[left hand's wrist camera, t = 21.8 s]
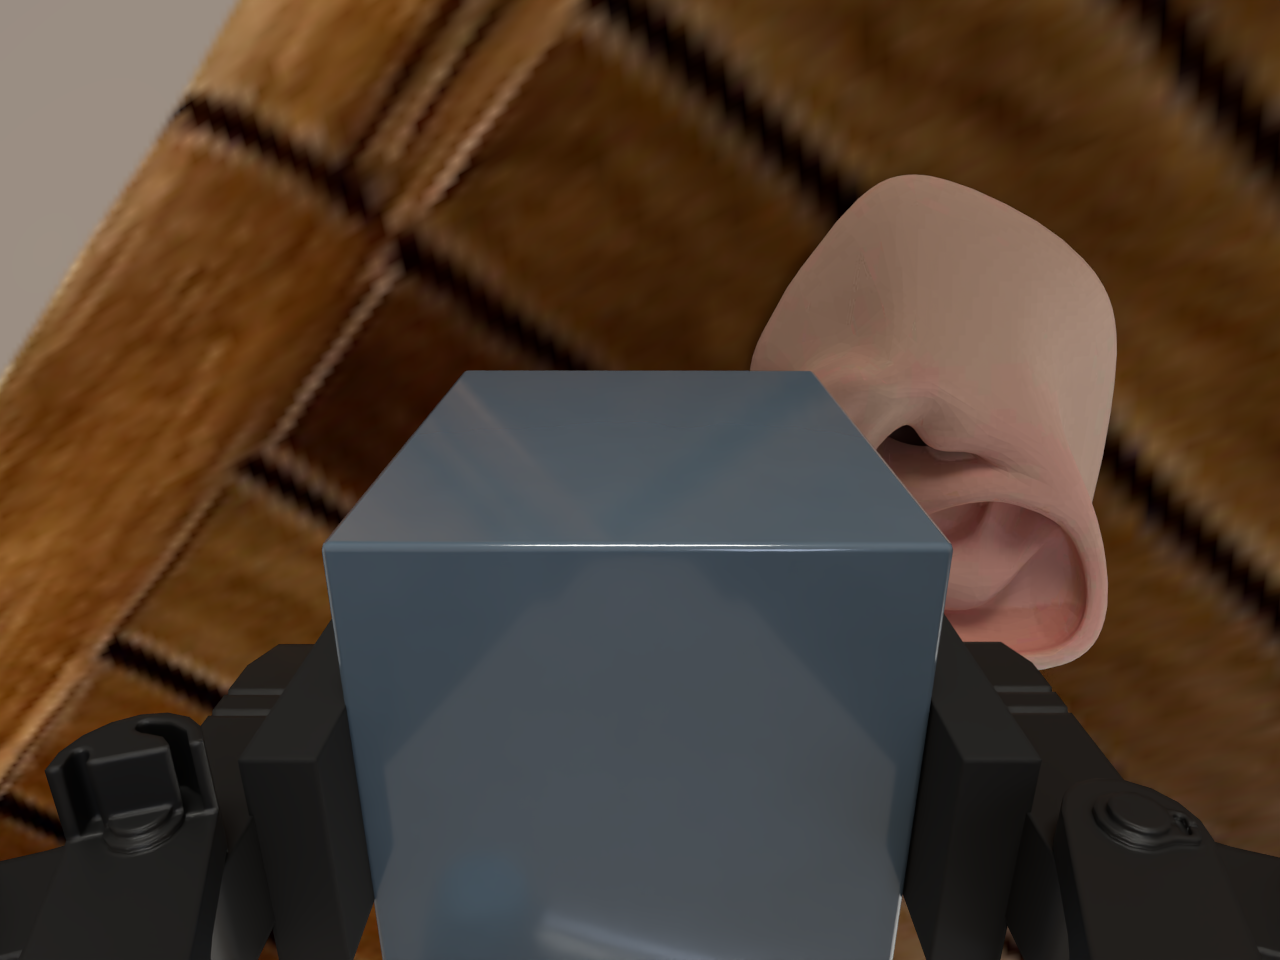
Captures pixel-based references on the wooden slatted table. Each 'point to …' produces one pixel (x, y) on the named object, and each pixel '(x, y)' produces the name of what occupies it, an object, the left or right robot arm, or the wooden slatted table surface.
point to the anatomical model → (971, 394)
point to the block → (637, 671)
